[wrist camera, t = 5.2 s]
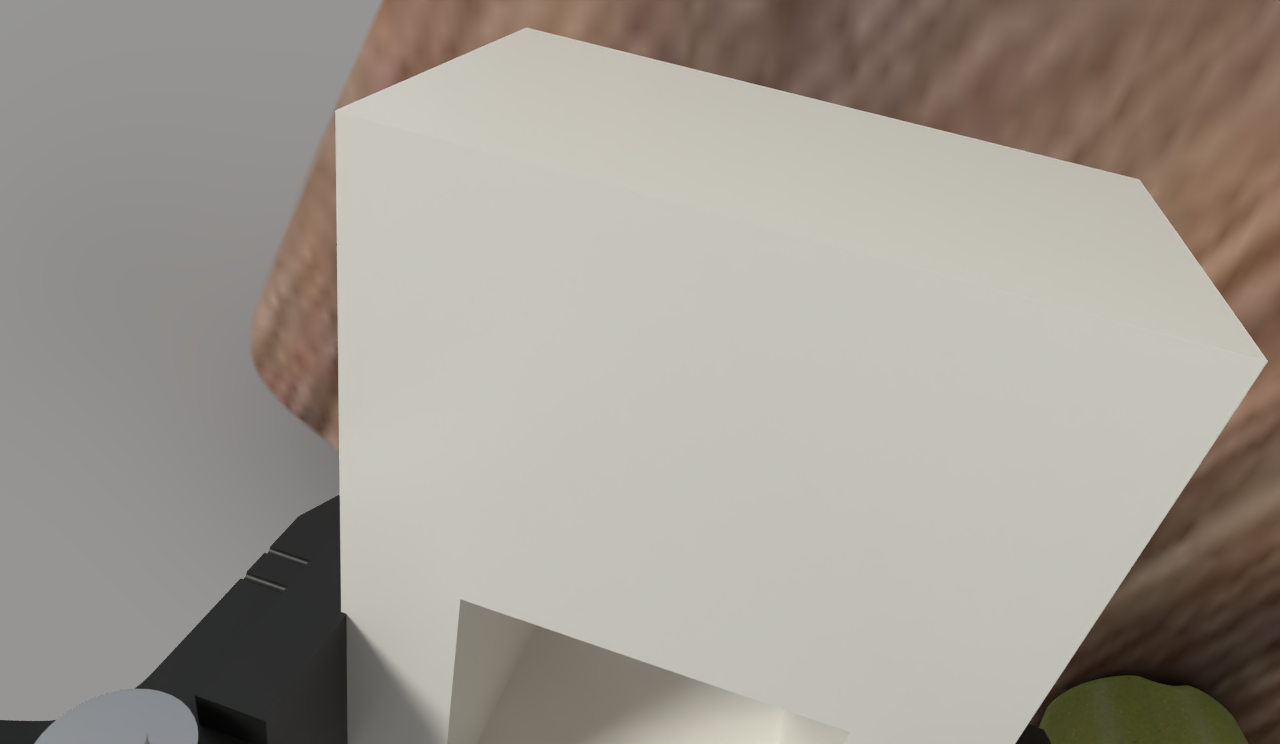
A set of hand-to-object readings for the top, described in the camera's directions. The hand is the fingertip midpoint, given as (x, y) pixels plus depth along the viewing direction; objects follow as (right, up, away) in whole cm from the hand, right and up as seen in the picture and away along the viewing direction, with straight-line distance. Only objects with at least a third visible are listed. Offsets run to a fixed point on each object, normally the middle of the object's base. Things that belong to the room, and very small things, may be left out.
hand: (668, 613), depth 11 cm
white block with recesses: (0, +1, +1) cm, 1 cm away
